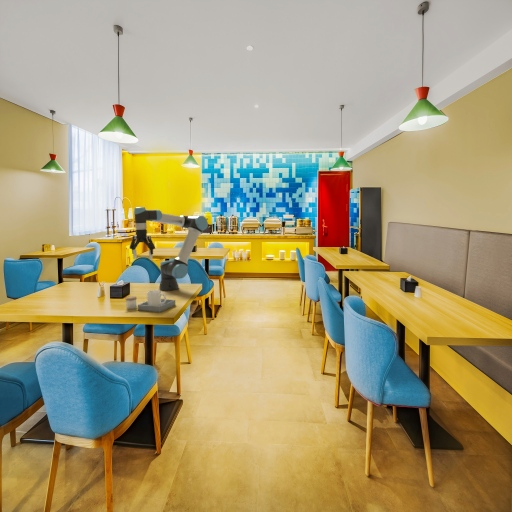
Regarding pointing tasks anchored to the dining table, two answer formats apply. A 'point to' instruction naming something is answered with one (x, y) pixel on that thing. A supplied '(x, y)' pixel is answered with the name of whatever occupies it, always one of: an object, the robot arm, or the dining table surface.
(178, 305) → the dining table surface
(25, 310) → the dining table surface
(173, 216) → the robot arm
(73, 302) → the dining table surface
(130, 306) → the sugar pot
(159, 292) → the cup
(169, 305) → the bus tub
